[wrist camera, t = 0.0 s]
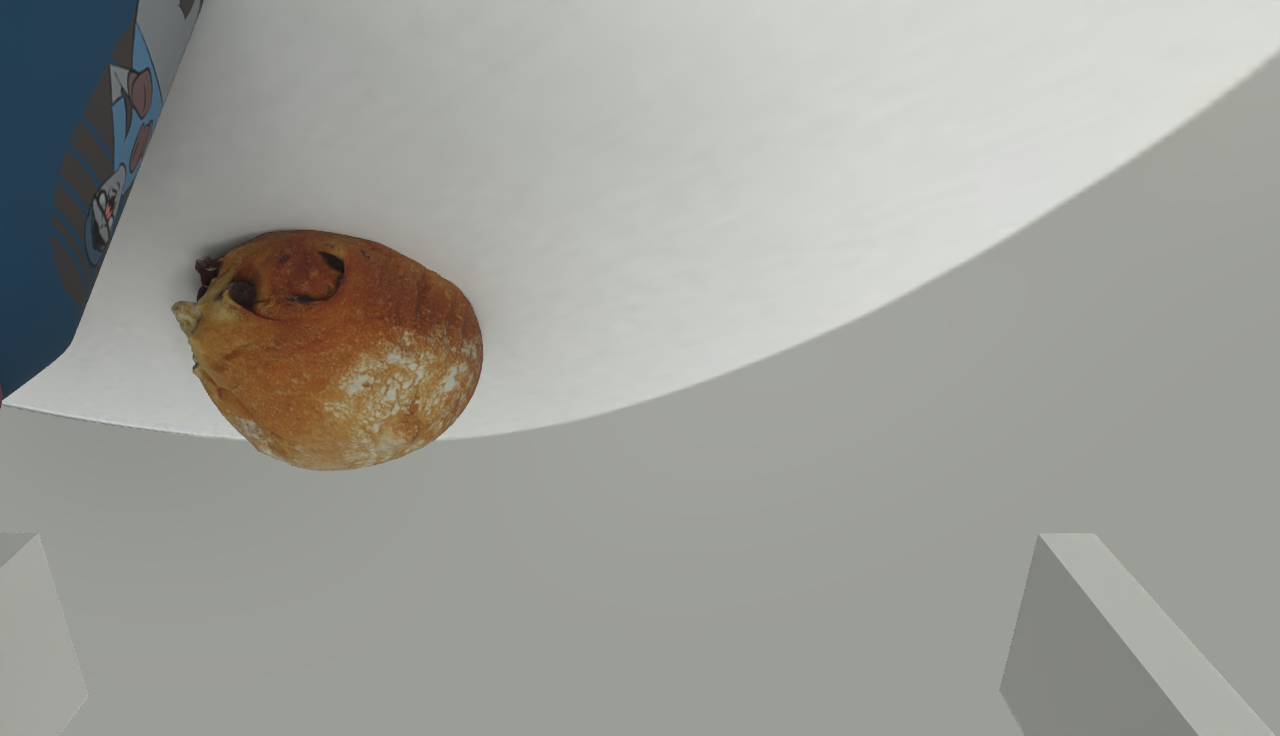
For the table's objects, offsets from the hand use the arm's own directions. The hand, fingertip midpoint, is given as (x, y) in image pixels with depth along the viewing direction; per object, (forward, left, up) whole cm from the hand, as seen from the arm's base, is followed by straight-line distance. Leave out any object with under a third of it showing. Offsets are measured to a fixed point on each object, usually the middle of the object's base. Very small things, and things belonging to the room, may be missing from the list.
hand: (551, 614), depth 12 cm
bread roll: (+15, -9, -16) cm, 24 cm away
